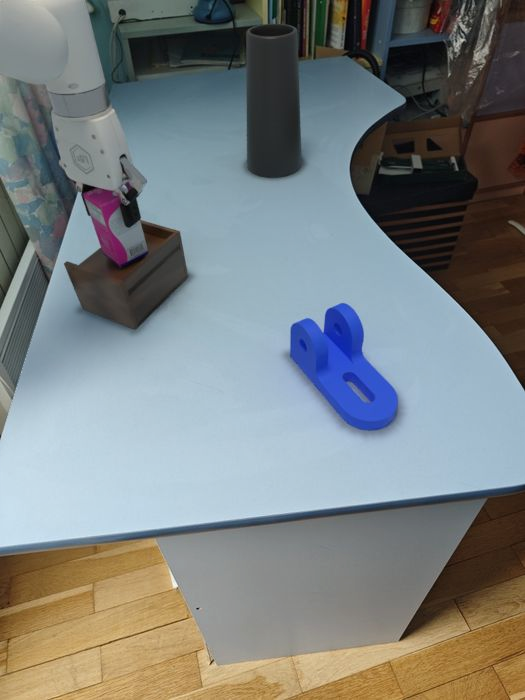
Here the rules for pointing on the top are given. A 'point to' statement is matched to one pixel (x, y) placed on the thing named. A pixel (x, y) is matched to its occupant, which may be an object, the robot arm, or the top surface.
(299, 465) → the top surface
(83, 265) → the wooden crate
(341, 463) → the top surface
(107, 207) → the supplement box
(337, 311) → the bracket
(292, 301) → the top surface
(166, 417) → the top surface
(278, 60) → the vase
